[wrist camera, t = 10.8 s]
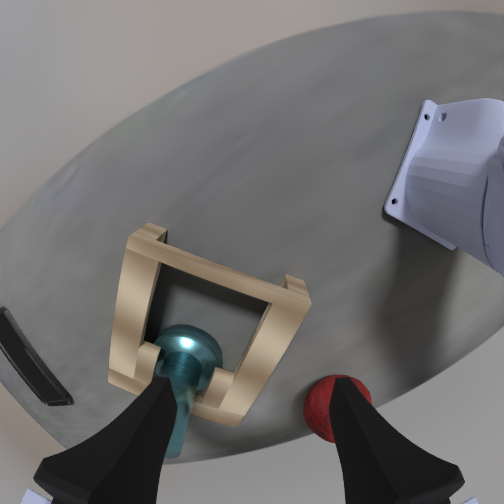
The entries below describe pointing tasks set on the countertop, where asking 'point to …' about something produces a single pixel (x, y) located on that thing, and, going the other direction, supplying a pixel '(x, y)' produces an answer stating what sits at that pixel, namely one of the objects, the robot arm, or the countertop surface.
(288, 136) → the countertop surface
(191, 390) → the peg
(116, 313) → the beige wooden frame
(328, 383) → the onion
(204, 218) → the countertop surface
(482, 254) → the robot arm
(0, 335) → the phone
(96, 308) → the countertop surface
